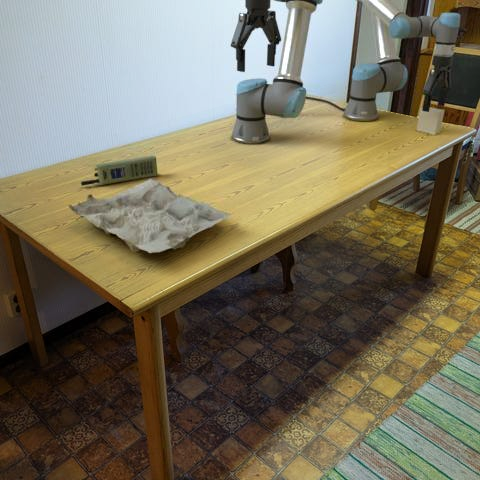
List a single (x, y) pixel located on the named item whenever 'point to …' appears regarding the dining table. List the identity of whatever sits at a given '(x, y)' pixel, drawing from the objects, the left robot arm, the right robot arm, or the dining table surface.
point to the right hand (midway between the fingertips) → (433, 108)
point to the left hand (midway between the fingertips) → (256, 68)
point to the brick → (430, 121)
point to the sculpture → (149, 216)
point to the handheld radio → (124, 170)
